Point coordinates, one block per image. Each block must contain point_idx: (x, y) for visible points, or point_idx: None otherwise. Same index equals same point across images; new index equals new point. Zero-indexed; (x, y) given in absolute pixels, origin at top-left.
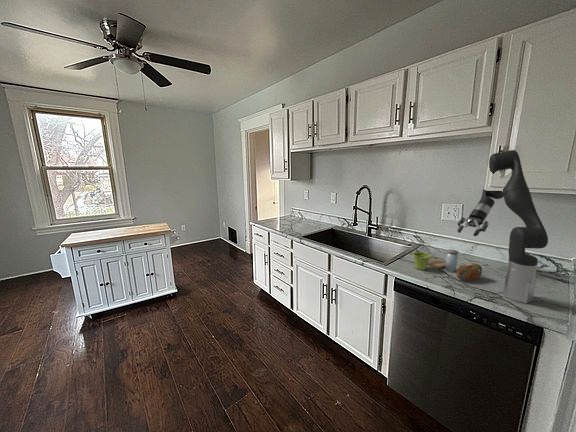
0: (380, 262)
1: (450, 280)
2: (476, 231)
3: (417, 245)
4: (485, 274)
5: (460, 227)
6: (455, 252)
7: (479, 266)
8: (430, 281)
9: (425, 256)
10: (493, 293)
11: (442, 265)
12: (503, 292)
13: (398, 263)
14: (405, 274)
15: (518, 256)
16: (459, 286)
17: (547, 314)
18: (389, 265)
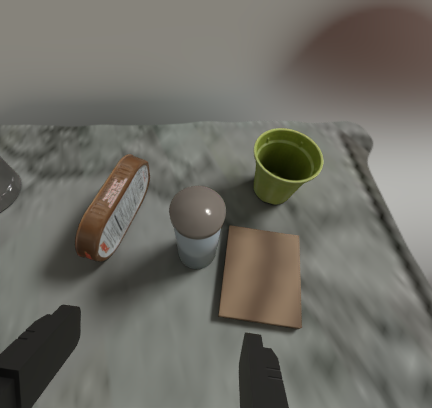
0: (369, 142)
1: (163, 169)
2: (29, 338)
3: None
4: None
5: (259, 383)
6: (178, 195)
7: (80, 238)
8: (199, 129)
9: (285, 185)
10: (47, 172)
11: (233, 253)
12: (18, 182)
13: (338, 173)
14: (265, 122)
15: None
16: (132, 151)
17: None
18: (336, 142)
